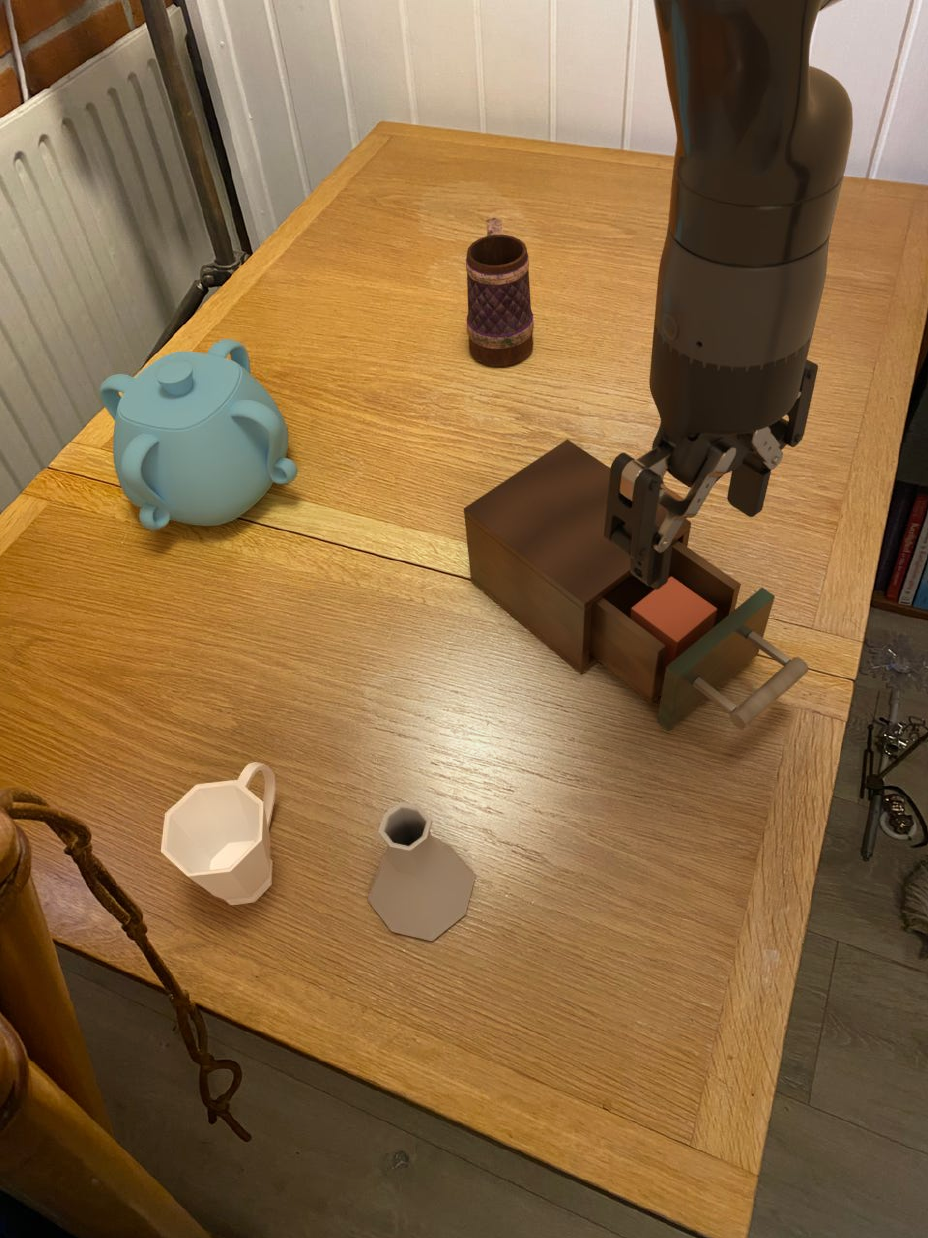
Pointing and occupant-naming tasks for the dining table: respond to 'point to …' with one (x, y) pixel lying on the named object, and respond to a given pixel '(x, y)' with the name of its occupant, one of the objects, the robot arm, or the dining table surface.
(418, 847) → the flask
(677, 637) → the block
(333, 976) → the dining table surface
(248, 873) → the cup
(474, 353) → the mug
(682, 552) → the drawer
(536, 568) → the cabinet
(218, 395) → the decorative pot
